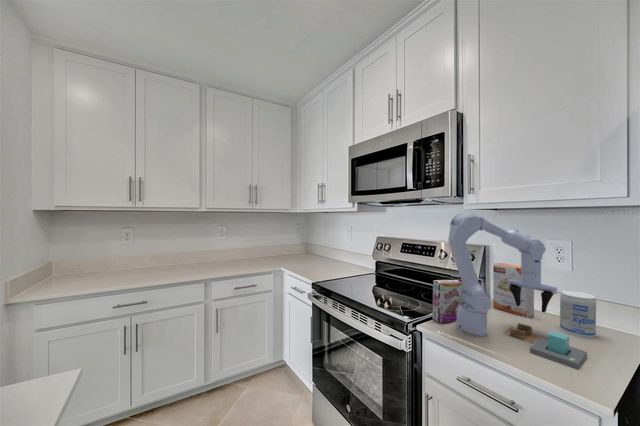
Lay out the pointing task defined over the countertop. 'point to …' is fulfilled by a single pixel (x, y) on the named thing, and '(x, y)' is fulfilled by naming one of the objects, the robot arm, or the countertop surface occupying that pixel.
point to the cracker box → (503, 294)
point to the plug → (558, 343)
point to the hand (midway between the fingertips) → (530, 308)
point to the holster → (522, 333)
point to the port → (572, 360)
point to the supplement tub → (578, 313)
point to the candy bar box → (446, 300)
